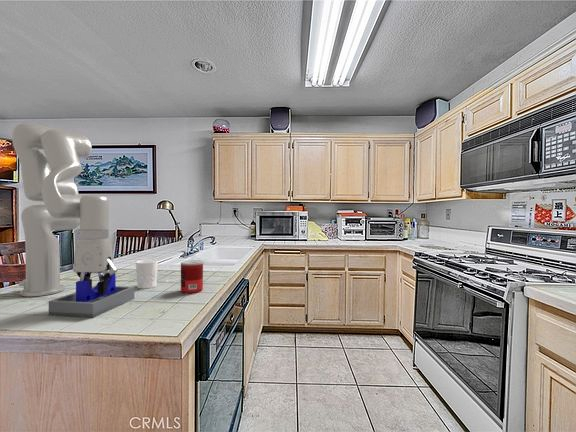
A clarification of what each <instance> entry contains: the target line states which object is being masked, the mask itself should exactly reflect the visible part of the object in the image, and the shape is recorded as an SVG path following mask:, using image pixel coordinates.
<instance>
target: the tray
mask: <svg viewBox="0 0 576 432" xmlns="http://www.w3.org/2000/svg"><path fill="white" fill-rule="evenodd" d="M95 286H96V285H92V289H93V288H94V287H95ZM134 299H135V286H124V285H123V286H121V285H119V286H118V285H116V292H113V293H110V294H107V295H105V296H102V297H99V298H96V299H94V300H91V301H88V302H76V291H75V292H72V293H69V294H65V295H63V296H61V297H57V298H54V299H52V300H48V316H54V315H56V316H55V317H72V318H87V319H94V318H96V317H99V316H100V314H101V315H102V313H103V314H105V313H107V312H109V311H111V310H114V309H115V308H117V307H120V306H122V305H124V304H126V303H128V302H130V301H133V300H134Z"/></svg>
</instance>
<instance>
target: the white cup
mask: <svg viewBox="0 0 576 432" xmlns="http://www.w3.org/2000/svg"><path fill="white" fill-rule="evenodd" d="M158 267H159V260H157V259H141V260H137V261H135V273H136V275H135V276H136V286H137V289H141V290H142V289H146V290H147V289H151V288H155V287H157V282H158V279H157V278H158Z"/></svg>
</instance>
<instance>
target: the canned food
mask: <svg viewBox="0 0 576 432" xmlns="http://www.w3.org/2000/svg"><path fill="white" fill-rule="evenodd" d="M203 286H204V261H203V260H201V259H189V260H183V261H181V262H180V292H181V293H183V294H188V295H189V294H190V295H192V294H198V293H201V292H202V291H203V289H204V287H203Z"/></svg>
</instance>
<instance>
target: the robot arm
mask: <svg viewBox="0 0 576 432" xmlns="http://www.w3.org/2000/svg"><path fill="white" fill-rule="evenodd" d="M11 138H12V139H11V140H12V145H13V149H14V151H15V153H16V155H17V156H16V157H17V158H18V160H19V163H20V167H21V168H20V169H21V176H22V187H23V192H24V195H25V198H26V199H28V200H29V201H32V202H42V203H43V202H44V204H32V205H29V206H27V207H24V209H22V211H21V213H20V214H21V215H20V217H21V223H22V227H23V228H22V229H23V232H24V233H23V234H24V242H25V243H24V245H25V246H24V247H25V250H24V251H25V279H23V280H22V281H19V282H18V286H19V287H23V289H22V290H20V292H19V295H20V296H21V297H42V296H43V297H44V296H49V295H53V294H57V293H61V292H63V291H65V290H66V285H64V284H61V278H60V277H61V275H60V274H61V273H60V272H61V269H60V268H61V267H60V263H61V259H60V257H61V256H60V255H61V254H60V253H61V252H60V251H61V250H60V246H61V245H60V241H59V239H58V237H56V235H54V233H53V232H54V231H69V230H75V229H78V228H79V231H78V232H77V235H78V236H79V239H77V242H76V245H75V250H74V260H73V268H72V271H73V272H74V273H75V274H76V275H77V276H78V277H79V281H89V285H90V288H91V289H92V287H93V280H92V278H91V275H92V274H97V275H98V279H99V281H97V284H98V295H101V294H104V293H106V292H107V280H109V278H110V277H111V276H112V275H113V274H114V273H115V274H116V273H117V272H118V269H117V267H116V266H115V265H114V254H113V245H112V242H111V239H110V238H109V237H110V235H109V233H110V231H109V230H110V229H109V228H110V227H109V225H110V224H109V204H110V203H109V199H108V197H106V196H104V195H95V194H94V195H92V194H90V195H88V194H87V195H85V194H79V188H78V185H77V184H76V182H75V181H74V180H73V179H74V178H76V177H78V176H79V175H80V174H82V171H83V166H82V163H81V161H80V159H87V158H89V157H90V156H91V155H92V153H93V152H92V151H93V148H92V147H93V146H92V143H91V141H90V139H89V138H88V137H87V136H85V135H83V134H79V133H76V132H73V131H69V130H65V129H59V128H55V127H50V126H45V125H41V124H36V123H27V122H26V123H19V124H16V126H14V128H13V130H12V137H11ZM40 150H42V151H43V152H44V153H42V152H41V151H40Z"/></svg>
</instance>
